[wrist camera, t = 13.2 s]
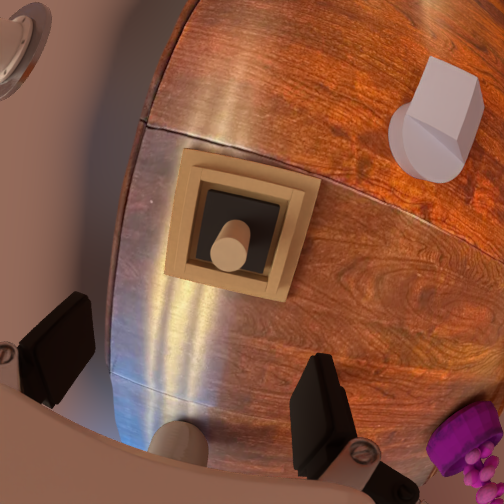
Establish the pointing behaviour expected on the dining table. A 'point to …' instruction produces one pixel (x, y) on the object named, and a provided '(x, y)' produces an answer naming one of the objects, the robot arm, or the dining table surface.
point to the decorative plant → (470, 448)
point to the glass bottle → (180, 443)
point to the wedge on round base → (437, 123)
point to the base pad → (250, 185)
